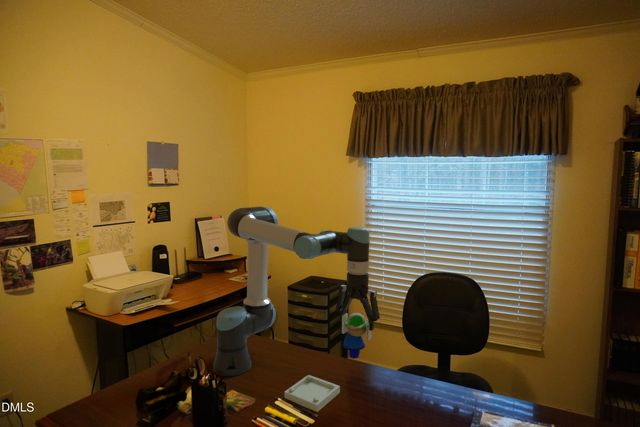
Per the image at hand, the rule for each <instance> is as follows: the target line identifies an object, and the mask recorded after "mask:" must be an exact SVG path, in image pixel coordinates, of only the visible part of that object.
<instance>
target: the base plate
mask: <svg viewBox="0 0 640 427" xmlns="http://www.w3.org/2000/svg"><path fill="white" fill-rule="evenodd" d="M340 393H341V386H340V385H338V384H335V383H333V382H329V381H327V380H324V379H321V378H319V377H316V376H312V375H311V374H308V375H306V376H304V377H303V378H302V379H300V380H299V381H297V382H296V383H295V384H293V385H292V386H291V387H289V388H288V389H286V390H285V391H284V399H286V400H288V401H290V402H293V403H296V404H297V405H299V406H301V407H304V408H306V409H309V410H312V411H314V412H317V413H318V412H319V411H321V410H322V409H323V408H324V407H325V406H326V405H327V404H329V403H330V402H331V401H332V400H333V399H334V398H336V396H338V395H339V394H340Z"/></svg>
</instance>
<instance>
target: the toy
mask: <svg viewBox="0 0 640 427" xmlns="http://www.w3.org/2000/svg"><path fill="white" fill-rule="evenodd" d="M367 321H368V320H367V319H366V317H365V315H363V314H361V313H359V312H353V313H351V314H350V315H348V319H347V321H346V322H345V323H344V326H345V327H347V330H348V331H347V333H346V335H345V337H344V339H343V345H342V347H343V349H345V350H347V351H349V353H348V354H349V355H348V357H349V358H351V359H353V360H354V359H358V358H359V357H360V354H361V353H360V352H361V350H364V349H365V348H366V343H365V340H364V339H363V337H362V336H364V335H365V334H366V322H367ZM367 330H368V325H367Z"/></svg>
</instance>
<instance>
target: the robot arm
mask: <svg viewBox="0 0 640 427" xmlns="http://www.w3.org/2000/svg"><path fill="white" fill-rule="evenodd" d="M227 217H228V218H227V222H226V224H227V229H228V230H229V232H230V234H232V236H235V237H237V238H240V239H243V240H245V241H246V242H247V276H246V278H247V282H246V284H247V285H246V287H247V288H246V297H245V298H244V299H243V305H242V306H238V305H237V306H230V307H227V308H224V309H222V310H221V311H219V313H218V314H217V316H216V324H215V326H216V353H215V358H214V360H213V362H212V370H213V372H214V374H216V375H218V376H221V377H234V376H235V377H236V376H239V375H242V374H244V373H247V372H248V371H249V370H250V369H252V368H251V367H252V357H251V356H250V352H249V350H248V347H247V346H248V345H247V343H248V342H247V339H248V338H249V337H251V336H253V335H255V334H257V333H260V332H263V331H266V330H267V329H269V328H271V326H273V324H274V323H275V321H276V316H277V314H276V308H274V307H275V306H274V304H273V303H272V302H271V299H270V298H269V297H268V279H269V277H268V275H269V274H268V273H269V272H268V270H269V268H268V267H269V245H271V246H273V247H274V246H275V247H277V248H281V249H284V250H286V251H290V252H293V253H295V254H296V255H297V256H298V258H300V259H301V260H302V259H303V260H311V259H312V260H313V259H315V258H316V257H322V256H325V255H329V254H333V253H334V254H335V253H337V254H343V255H344V254H345V255H346V271H347V273H346V285H345V284H343V283H342V284H341V285H339V286H338V291H339V293H338V295H337V296H338V297H337V300H336V306H335V312H336V313H339V315H340V317H339V318H340V319H339V321H340V324H341V334H347V333H348V330H347V327H345V326H344V323H345V322H346V321H347V319H348V317H349V313H347V311H348V308H349V307H350V305H351V304H352V301H353V300H359V302H360V303H361V305H362V308H363V310H364V312H365V315H366V317H367V319H368V321H367V322H366V332H365V335H366V337H365V341H370V340H371V339H372V337H373V331H374V330H375V322H378V320H380V319H381V315H380V311H379V305H378V300H377V299H378V298H377V295H378V291H377V290H371V289H370V288H369V281H370V280H369V276H370V275H369V271H370V260H369V259H370V258H369V257H370V231H369V230H370V229H368V228H367V227H363V226H362V227H361V226H359V227H358V226H351V227H349V228H348V229H347V230H346V232H343V231H335V230H330V229H329V230H321V231H320V232H319V233H316V234H315V233H309V232H305V231H301V230H297V229H295V228H291V227H287V226H284V225H280V224H279V219H278V215H277V214H276V212H275V211H274V210H273V209H272V208H270V207H268V206H251V207H239V208H236V209H235V210H232V212H230V214H229V215H228V216H227ZM346 291H347V292H348V294H347V296H346ZM345 297H346V299H345ZM367 325H368V330H367Z"/></svg>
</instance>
